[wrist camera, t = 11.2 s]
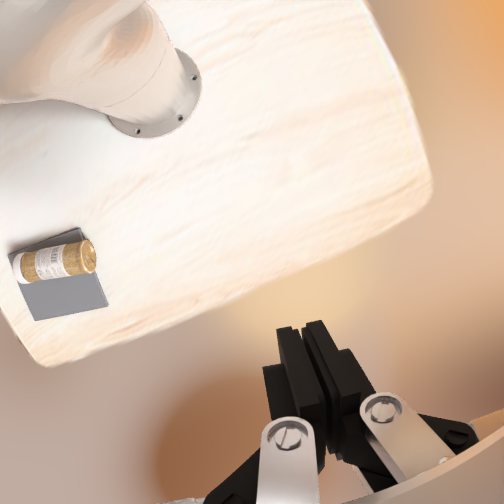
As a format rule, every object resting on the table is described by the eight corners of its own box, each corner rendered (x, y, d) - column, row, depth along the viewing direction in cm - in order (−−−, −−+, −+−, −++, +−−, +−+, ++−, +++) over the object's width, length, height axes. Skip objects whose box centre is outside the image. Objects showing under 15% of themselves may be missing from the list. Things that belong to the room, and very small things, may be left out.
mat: (36, 319, 40) (34, 321, 39) (9, 254, 36) (7, 255, 36) (108, 304, 40) (107, 306, 39) (80, 227, 36) (78, 228, 36)
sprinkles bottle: (96, 243, 37) (29, 256, 37) (81, 235, 33) (11, 251, 32) (98, 275, 37) (29, 285, 36) (82, 271, 32) (11, 282, 32)
